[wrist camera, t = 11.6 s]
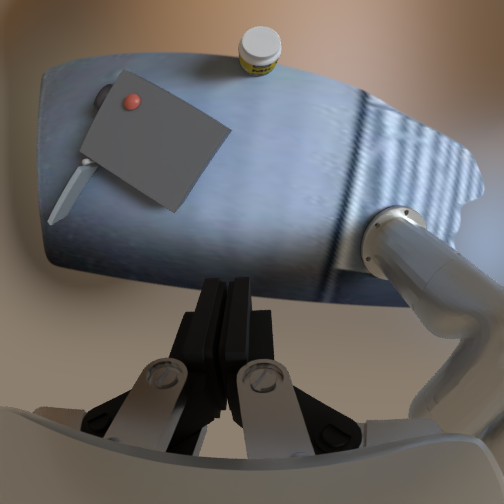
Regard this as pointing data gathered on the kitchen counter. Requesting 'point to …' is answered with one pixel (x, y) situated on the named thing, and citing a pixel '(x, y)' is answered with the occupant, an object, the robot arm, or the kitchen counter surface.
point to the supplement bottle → (259, 50)
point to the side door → (72, 191)
